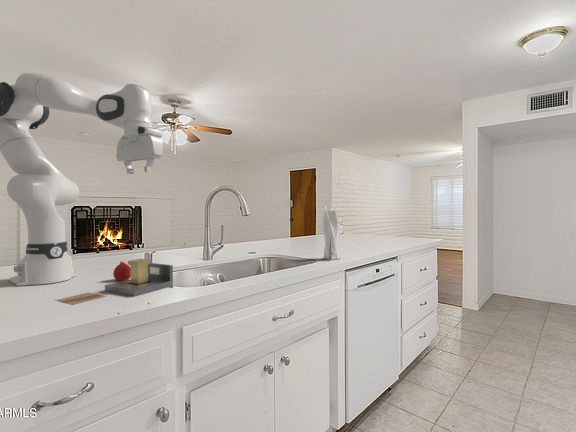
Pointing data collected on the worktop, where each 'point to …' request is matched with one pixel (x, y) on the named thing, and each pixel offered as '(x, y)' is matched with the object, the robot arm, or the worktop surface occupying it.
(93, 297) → the brown square coaster
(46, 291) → the worktop surface
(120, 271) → the onion
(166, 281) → the tray
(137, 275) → the tan wooden upright block
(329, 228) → the skyscraper
